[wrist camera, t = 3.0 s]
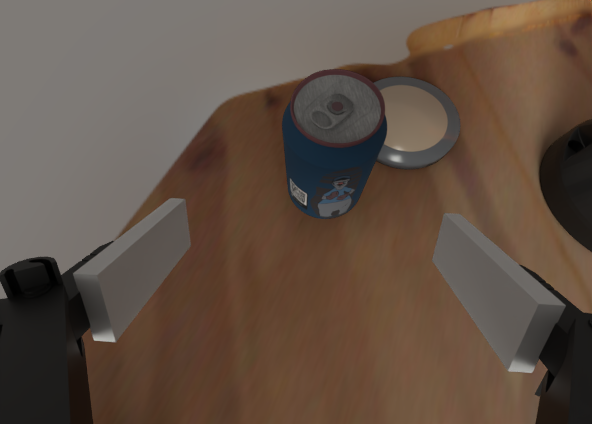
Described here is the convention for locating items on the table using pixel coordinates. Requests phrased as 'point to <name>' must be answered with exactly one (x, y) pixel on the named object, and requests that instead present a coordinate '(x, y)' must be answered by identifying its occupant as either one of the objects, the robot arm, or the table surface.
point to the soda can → (332, 140)
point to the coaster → (416, 123)
